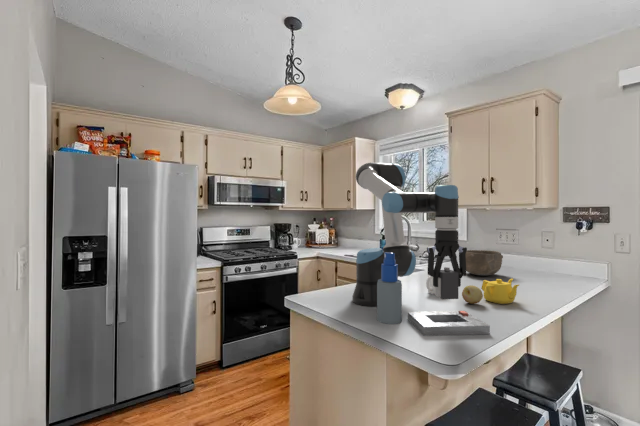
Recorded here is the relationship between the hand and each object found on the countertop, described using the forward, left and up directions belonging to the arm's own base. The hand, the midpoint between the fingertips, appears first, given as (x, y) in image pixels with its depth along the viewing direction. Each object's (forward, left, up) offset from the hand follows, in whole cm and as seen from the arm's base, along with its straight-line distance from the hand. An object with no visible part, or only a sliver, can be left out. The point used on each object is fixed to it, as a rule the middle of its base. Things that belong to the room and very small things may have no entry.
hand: (446, 295), depth 116 cm
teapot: (+39, +30, -11) cm, 51 cm away
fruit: (+24, +27, -11) cm, 38 cm away
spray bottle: (-18, +8, -11) cm, 23 cm away
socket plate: (0, 0, -11) cm, 11 cm away
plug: (0, 0, 0) cm, 0 cm away
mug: (+15, +46, -11) cm, 50 cm away
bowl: (+64, +90, -11) cm, 111 cm away
